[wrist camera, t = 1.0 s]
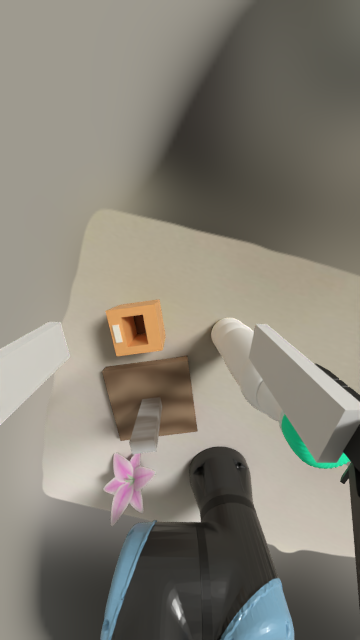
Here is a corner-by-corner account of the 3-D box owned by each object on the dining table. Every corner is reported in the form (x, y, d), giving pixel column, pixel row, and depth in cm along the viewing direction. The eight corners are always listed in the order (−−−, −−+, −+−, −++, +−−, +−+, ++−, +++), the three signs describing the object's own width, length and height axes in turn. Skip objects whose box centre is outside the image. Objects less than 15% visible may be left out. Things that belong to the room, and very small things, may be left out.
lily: (166, 449, 44) (151, 473, 35) (156, 501, 42) (137, 541, 32) (126, 434, 47) (103, 452, 38) (115, 482, 45) (88, 513, 36)
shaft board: (196, 424, 41) (204, 482, 29) (123, 433, 41) (101, 494, 29) (187, 356, 37) (191, 391, 25) (106, 366, 37) (72, 406, 25)
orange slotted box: (165, 336, 35) (162, 350, 28) (128, 341, 36) (115, 357, 28) (159, 299, 34) (154, 304, 27) (120, 304, 34) (104, 311, 27)
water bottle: (208, 319, 35) (281, 410, 10) (242, 314, 35) (396, 394, 10) (212, 351, 36) (282, 493, 12) (244, 346, 36) (382, 480, 12)
